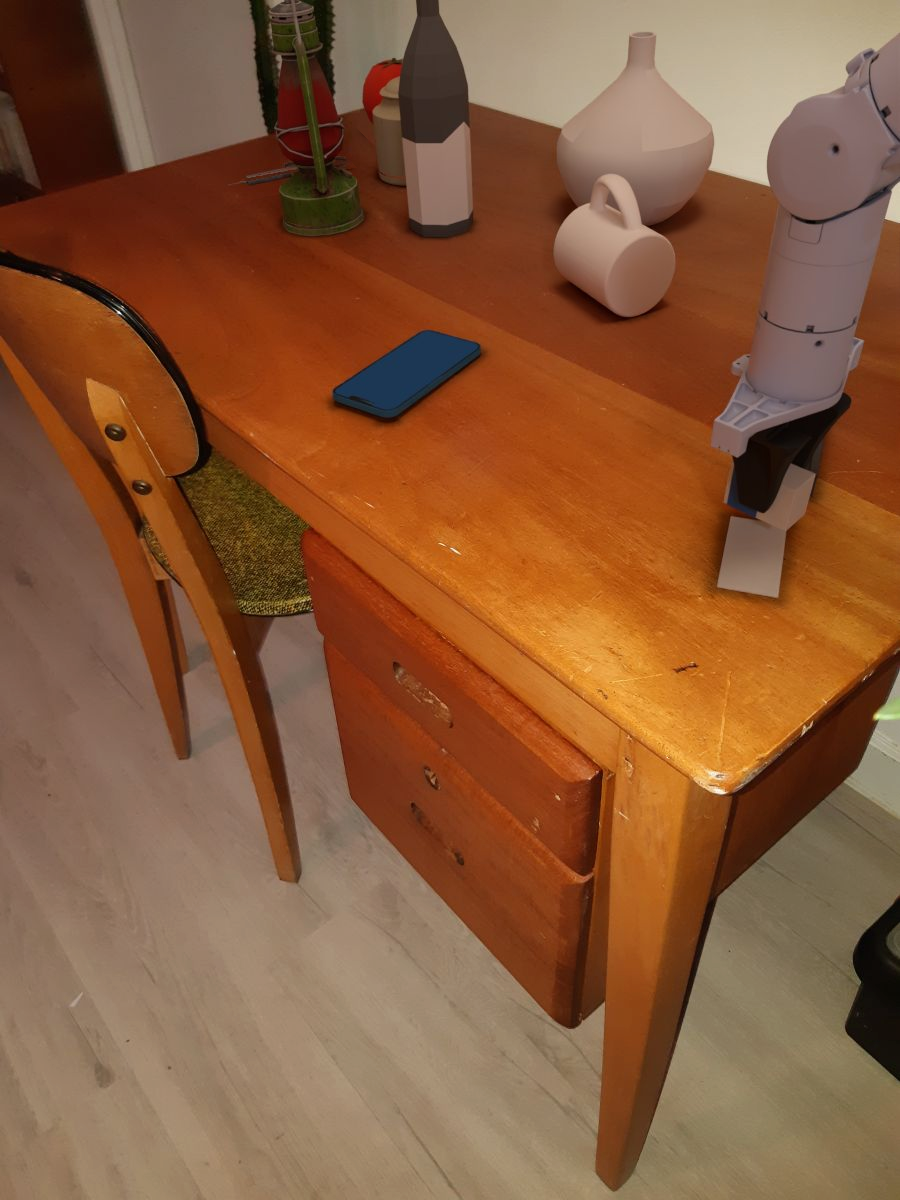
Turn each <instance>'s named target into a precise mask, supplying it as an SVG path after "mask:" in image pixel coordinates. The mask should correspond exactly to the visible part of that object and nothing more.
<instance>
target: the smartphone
mask: <svg viewBox="0 0 900 1200" xmlns="http://www.w3.org/2000/svg"><path fill="white" fill-rule="evenodd" d="M481 345H482V344H480V343H479V342H476V341H473V340H469V339H466V338H462V337H459V336H455V335H450V334H447V333H444V332H440V331H436V330H433V329H424V330H421V331H419V332H417V333H415V334H414V335H412V336H411V337H409V338H408V339H407V340H404V342H402V343H400V344H399V345H397V346H396V347H395V348H393V349H391V350H389V352H387V353H385V354H383V355H382V356H381V357H379V358H378V359H376V360H374V361H373V362H371V363H370V364H368V365H367V366H366V367H363V368H362V369H360V370H359V371H358V372H356V373H354V374H353V375H352V376H350V377H348V378H347V379H345V380H344V381H342V382H341V383H339V384H338V385H337V386H335V387H334V388H332V389H331V393H332V399H333V401H335V402H337V403H340V404H342V405H346V406H349V407H350V408H355V409H357V410H360V411H364V412H366V413H368V414H373V415H375V416H378V417H381V418H385V419H386V418H387V419H388V418H394V417H396V416H398V415H399V414H401V413H402V412H403V411H405V410H406V409H408V408H409V407H410V406H412V405H413V404H415V403H416V402H417V401H419V400H420V399H421V398H423V397H424V396H426V395H427V394H428V393H430V392H431V391H432V390H435V388H436V387H438V386H440V385H441V384H442V383H443V382H445V381H446V380H447V379H449V378H450V377H451V376H453V375H455V374H456V373H457V372H458V371H460V370H461V369H462V368H464V367H465V366H467V365H468V364H469V363H471V362H472V361H473V360H475V359H477V358H478V357H479V356H480V355H481V354H482V346H481Z"/></svg>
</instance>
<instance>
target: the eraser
mask: <svg viewBox="0 0 900 1200" xmlns="http://www.w3.org/2000/svg"><path fill="white" fill-rule="evenodd" d="M815 475H816V474H815V473H813V472H810V471H808V470H805V469H803V468H801V467H798V466H796V465H793V464H790V466H789V468H788V470H787V472H786V474H785V476H784V479H783V481H782V484H781V486H780V489H779V492H778V494H777V496H776V499H775V500H774V502H773V504H772V506H771V507H770V508H769V510H767V511H766V512H765V513H760V512H758V511H756V510H754V509H752V508H749V507H747V506H745V505H743V504H741V503H739V499H738V491H737V482H736V473H735V467H734V462H733V460H732V461H731V462H730V464H729V470H728V475H727V480H726V485H725V491H724V497H723V501H722V503H723V504H725V505H727V506H729V507H730V508H733V509H735V510H737V511H738V512H740V513H741V512H742V513H744V514H745V515H748V516H750V517H752V518H754V519H756V520H759V521H764V522H766V523H768V524H770V525H772V526H775V527H777V528H779V529H781V530H783V531H786V530H787V531H788V530H789V529H790V528H791V527H792V526H794V524H796V523H797V522H798V521H800V519H802V518H803V517H804V516H805V515H806V512H807V509H808V508H807V507H808V504H809V501H810V498H811V497H810V494H811V490H812V486H813V483H814V479H815ZM787 531H786V532H787Z"/></svg>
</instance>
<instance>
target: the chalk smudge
mask: <svg viewBox="0 0 900 1200" xmlns="http://www.w3.org/2000/svg"><path fill="white" fill-rule="evenodd" d="M787 531H788V530H786V531H783V530H781V529H779V528H777V527H775V526H772V525H770V524H768V523H766V522H764V521H762V520H760V519H752V518H745V517H740V516H739V517H738V516H733V515H731V516H730V518H729V522H728V528H727V533H726V538H725V544H724V548H723V555H722V558H721V564H720V567H719V568H720V569H719V572H718V579H717V584H716V588H718V589H722V590H723V589H724V590H730V591H734V592H740V593H745V594H752V595H757V596H761V597H762V596H763V597H769V598H774V599H779V595H780V594H779V593H780V585H781V579H782V578H781V577H782V570H783V562H784V555H785V547H786V546H785V545H786V539H787V538H786V537H787Z"/></svg>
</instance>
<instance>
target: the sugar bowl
mask: <svg viewBox="0 0 900 1200" xmlns="http://www.w3.org/2000/svg"><path fill="white" fill-rule="evenodd" d="M403 58H404V56H403V57H402V59H403ZM402 63H403V60H402ZM401 66H402V65H401ZM399 81H400V76H399V77H397V78H394V79H392V80H391V81H390V82H388V84H387V85H386V86H385V87H383V88H382V89H381V91H380V95H382V96H383V100H382V102H381V103H380V104H379V105H378V106H376V107H375V108H374V109H373V112H372V114H373V124H372V126H373V135H374V137H373V138H374V145H375V153H376V160H377V169H379V170H378V176H379V178H380V180H381V181H383V182H385V183H386V184H389V185H393V186H400V187H407V186H406V179H396V178H391V177H387V176H384V175H382V174H381V173H380V172H382V173H383V174H386V175H389V176H395V177H406V175H405V164H404V153H403V142H402V131H401V120H400V108H399V97H398V91H399ZM379 171H380V172H379Z"/></svg>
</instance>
